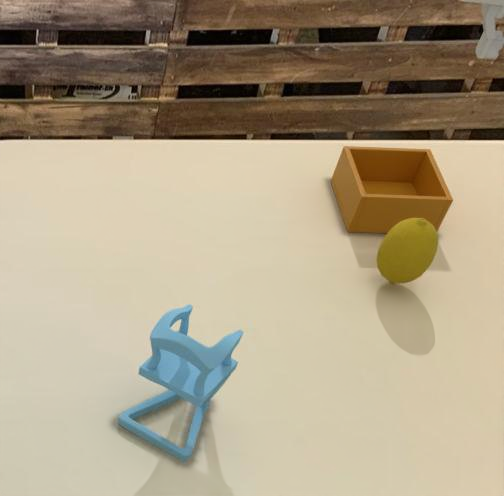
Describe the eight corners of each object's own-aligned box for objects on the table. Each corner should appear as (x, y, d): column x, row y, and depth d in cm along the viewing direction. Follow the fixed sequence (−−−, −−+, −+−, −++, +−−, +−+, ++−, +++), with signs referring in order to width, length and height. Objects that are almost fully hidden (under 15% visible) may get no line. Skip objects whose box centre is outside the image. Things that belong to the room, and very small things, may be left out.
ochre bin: (413, 184, 110) (430, 149, 106) (435, 235, 104) (453, 200, 100) (330, 180, 110) (343, 145, 106) (347, 231, 104) (361, 196, 101)
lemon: (382, 260, 101) (412, 196, 95) (427, 283, 99) (460, 219, 93) (356, 281, 99) (384, 218, 93) (401, 305, 97) (433, 242, 90)
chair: (230, 413, 87) (265, 317, 77) (185, 463, 83) (216, 368, 74) (162, 377, 90) (188, 279, 80) (116, 423, 86) (137, 327, 76)
